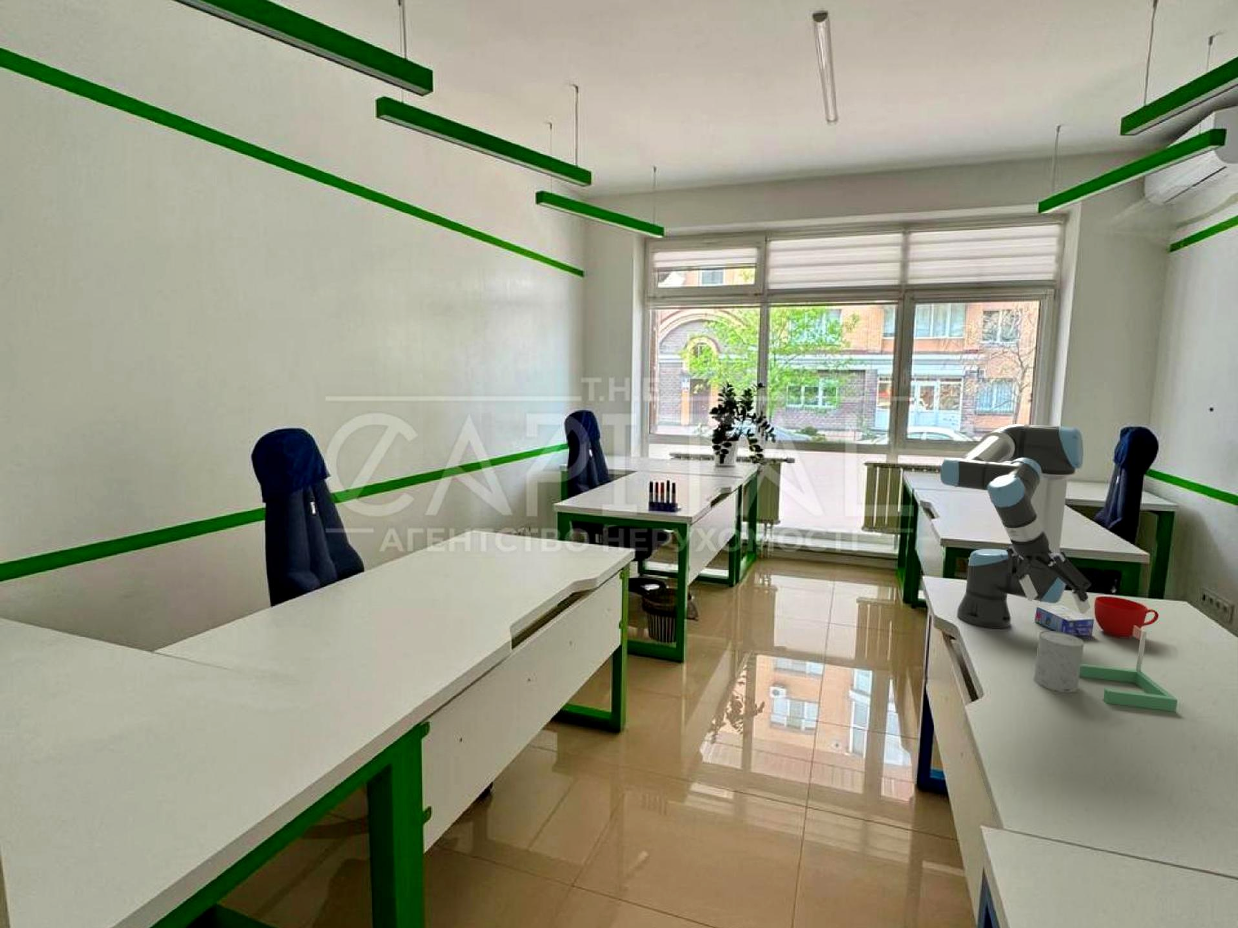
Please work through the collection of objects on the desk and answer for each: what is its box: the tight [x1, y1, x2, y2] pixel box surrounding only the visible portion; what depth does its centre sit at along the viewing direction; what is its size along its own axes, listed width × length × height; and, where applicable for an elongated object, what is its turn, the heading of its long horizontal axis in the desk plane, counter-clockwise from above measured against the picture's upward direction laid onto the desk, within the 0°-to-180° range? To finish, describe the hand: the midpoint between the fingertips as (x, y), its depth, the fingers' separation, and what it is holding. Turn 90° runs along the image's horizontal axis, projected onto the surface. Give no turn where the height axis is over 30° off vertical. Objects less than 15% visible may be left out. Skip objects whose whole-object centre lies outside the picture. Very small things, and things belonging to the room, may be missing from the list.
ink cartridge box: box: [1034, 605, 1095, 637], centre depth 202 cm, size 10×6×14 cm
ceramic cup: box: [1093, 595, 1159, 639], centre depth 200 cm, size 13×17×10 cm
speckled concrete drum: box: [1032, 630, 1085, 694], centre depth 165 cm, size 10×10×12 cm
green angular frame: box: [1079, 625, 1178, 713], centre depth 163 cm, size 20×14×14 cm
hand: (1058, 603), depth 161 cm, fingers open, 13 cm apart
